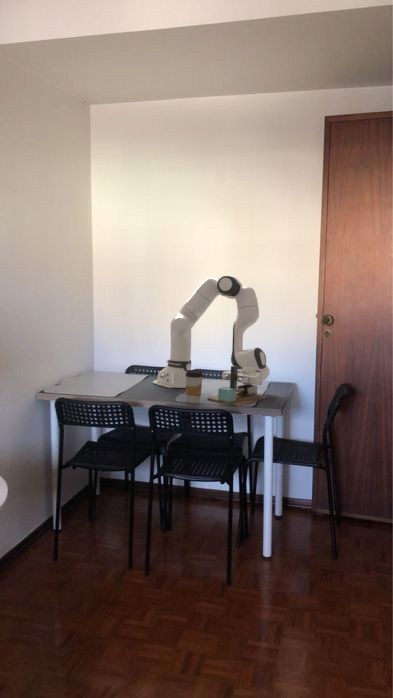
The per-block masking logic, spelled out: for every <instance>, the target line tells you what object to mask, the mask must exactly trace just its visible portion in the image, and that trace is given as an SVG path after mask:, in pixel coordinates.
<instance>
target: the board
mask: <svg viewBox="0 0 393 698" xmlns="http://www.w3.org/2000/svg"><path fill="white" fill-rule="evenodd" d="M265 399H267V396H265V395H262V394H261V395H260V394H257V395H253V396H249V397H245V396H240V395H237V396H236V400H235V401H232V402H228V401H223V400H218V395H215V396H211V397H207V401H211V402H216V403H220V404H224V405H231V406H235V407H240V406H245V405H247V404H252V403H255V402H258V401H261V400H265Z"/></svg>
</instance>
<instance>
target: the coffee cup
mask: <svg viewBox="0 0 393 698" xmlns="http://www.w3.org/2000/svg"><path fill="white" fill-rule="evenodd" d="M203 376H204V374H203V371H202V370H198V369H197V370H196V369H191V370H188V371H187V373H186V388H185V395H186V398H185V399H186V403H188V404H199V403H200V401H201V396H202V395H201V394H202V388H203V387H202V386H203Z"/></svg>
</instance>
